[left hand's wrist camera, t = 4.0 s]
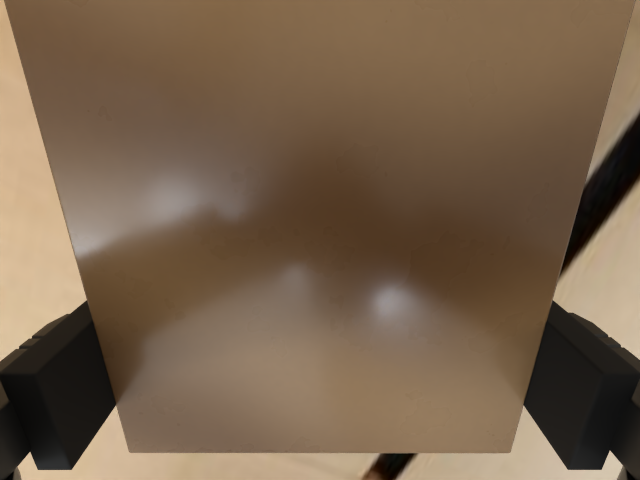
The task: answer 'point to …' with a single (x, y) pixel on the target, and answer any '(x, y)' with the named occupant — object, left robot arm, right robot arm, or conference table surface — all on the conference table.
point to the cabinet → (319, 207)
